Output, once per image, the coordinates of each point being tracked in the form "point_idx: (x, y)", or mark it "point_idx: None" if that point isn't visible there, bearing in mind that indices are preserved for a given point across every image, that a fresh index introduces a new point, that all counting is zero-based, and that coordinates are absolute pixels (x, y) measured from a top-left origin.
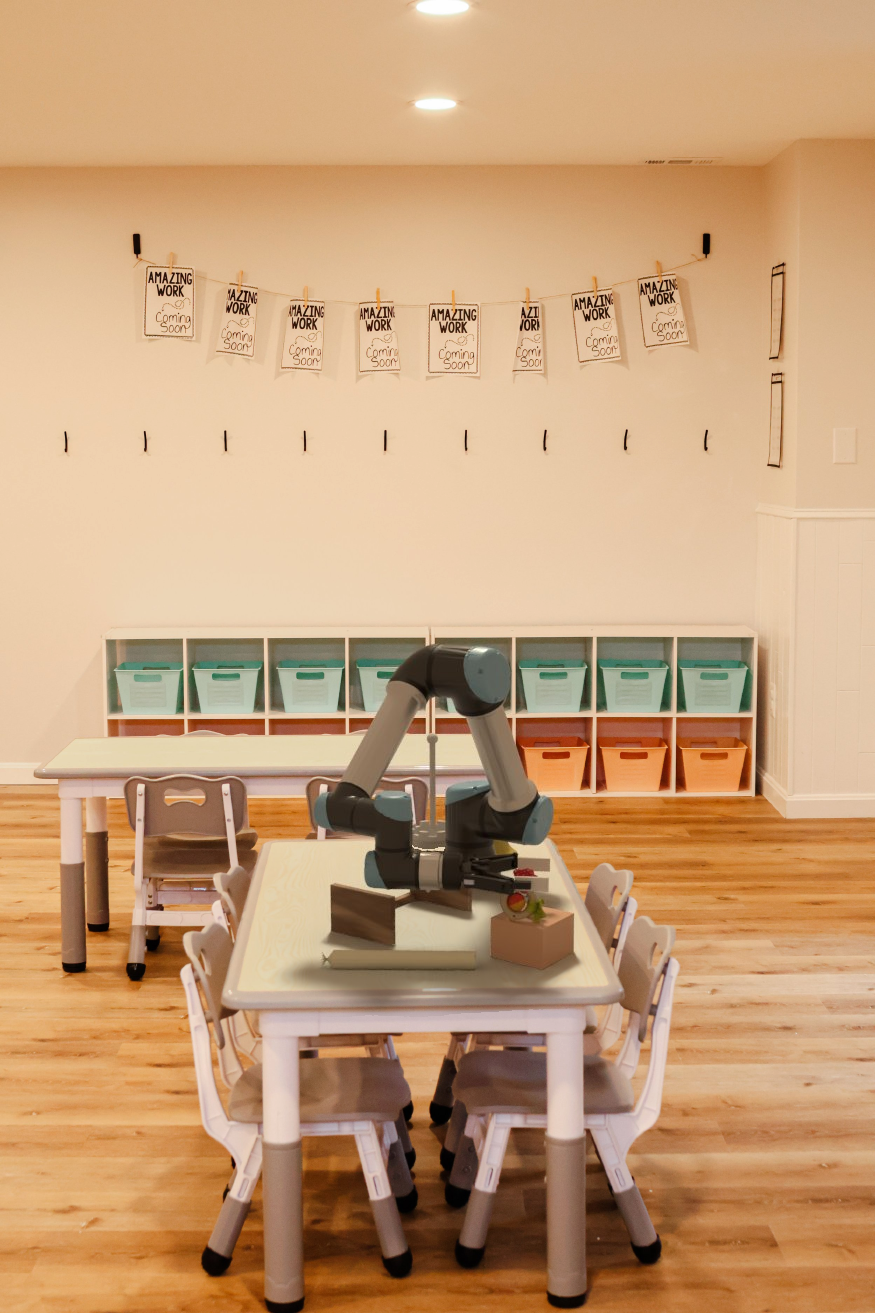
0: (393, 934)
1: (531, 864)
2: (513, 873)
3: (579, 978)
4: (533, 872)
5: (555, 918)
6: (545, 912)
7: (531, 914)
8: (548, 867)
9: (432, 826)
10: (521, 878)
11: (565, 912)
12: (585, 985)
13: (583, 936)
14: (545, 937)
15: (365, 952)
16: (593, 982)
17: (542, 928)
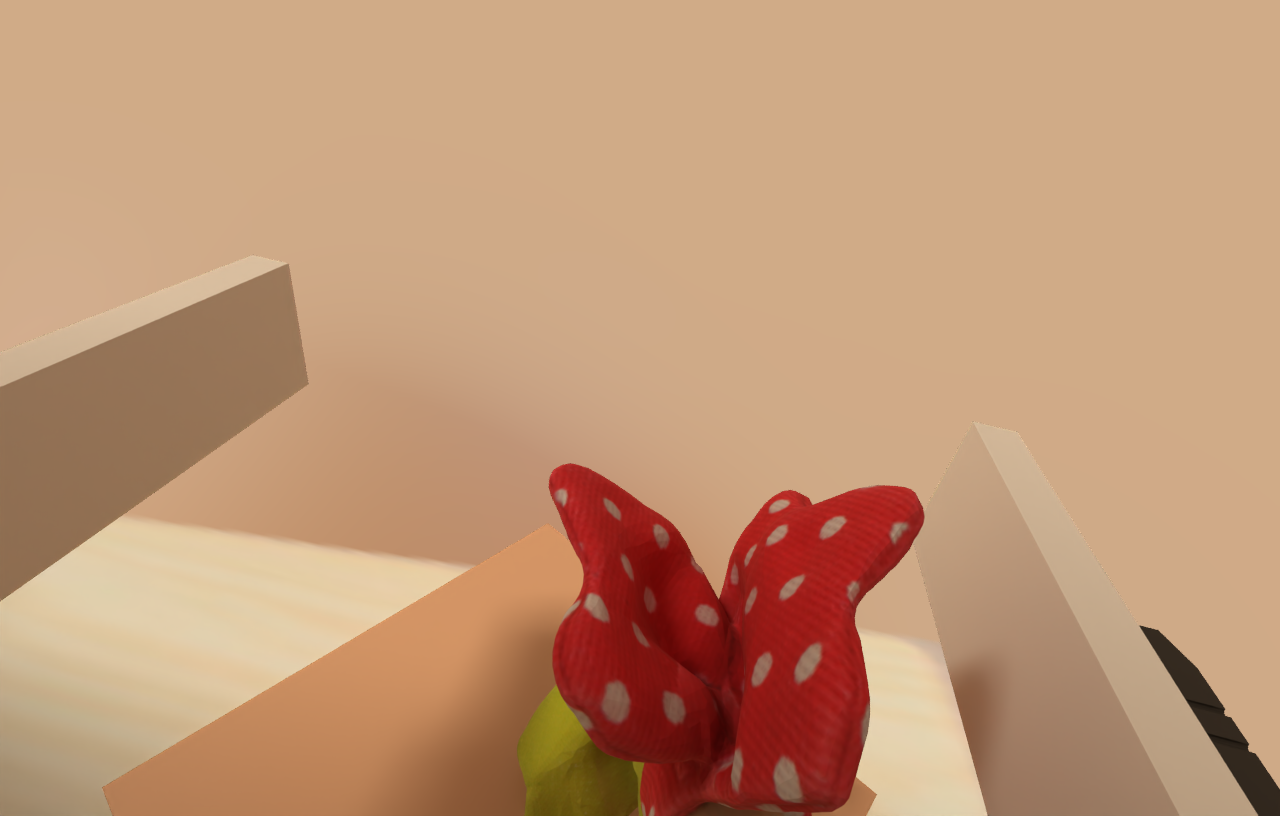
0: None
1: (129, 419)
2: (835, 808)
3: (876, 736)
4: (617, 487)
5: None
6: (482, 667)
7: (634, 808)
8: (292, 353)
9: None
10: (1180, 725)
11: (522, 556)
12: (956, 734)
13: (348, 570)
14: None
15: None
16: (909, 691)
17: (857, 790)
